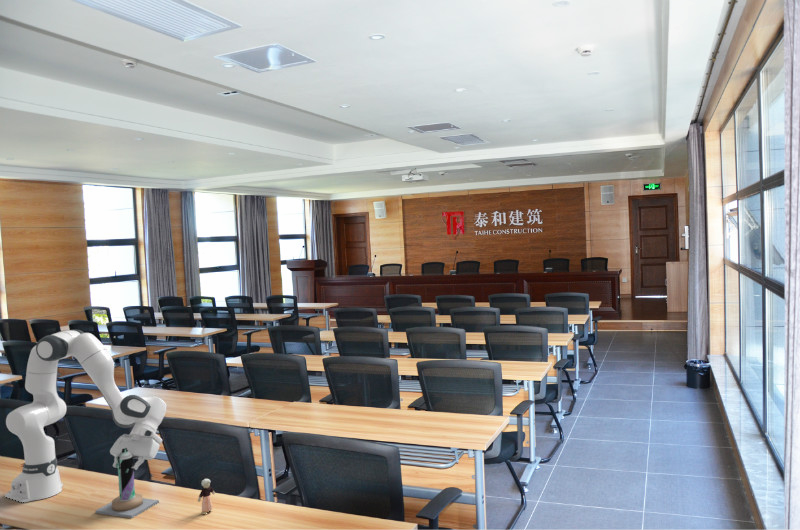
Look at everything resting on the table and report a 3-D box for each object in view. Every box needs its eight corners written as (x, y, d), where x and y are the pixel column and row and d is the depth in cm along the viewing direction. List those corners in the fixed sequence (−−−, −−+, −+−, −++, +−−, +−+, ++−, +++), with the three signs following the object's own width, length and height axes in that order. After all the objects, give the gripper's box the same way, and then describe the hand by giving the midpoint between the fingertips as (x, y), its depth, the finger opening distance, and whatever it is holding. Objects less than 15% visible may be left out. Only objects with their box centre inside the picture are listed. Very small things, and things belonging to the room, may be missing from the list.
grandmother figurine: (205, 516, 223) (203, 482, 223) (197, 515, 225) (195, 482, 224) (218, 507, 231) (216, 475, 230) (210, 506, 232) (208, 474, 231)
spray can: (128, 502, 231) (125, 450, 231) (116, 501, 233) (113, 450, 232) (138, 496, 237) (135, 446, 236) (126, 495, 238) (123, 445, 237)
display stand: (95, 513, 231) (94, 504, 231) (123, 498, 244) (123, 489, 244) (132, 518, 225) (131, 509, 225) (159, 502, 238) (158, 494, 238)
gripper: (117, 430, 244) (99, 462, 235) (157, 433, 237) (140, 466, 228) (126, 437, 248) (108, 469, 240) (165, 440, 241) (149, 473, 232)
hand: (124, 468), depth 234 cm, fingers open, 8 cm apart
